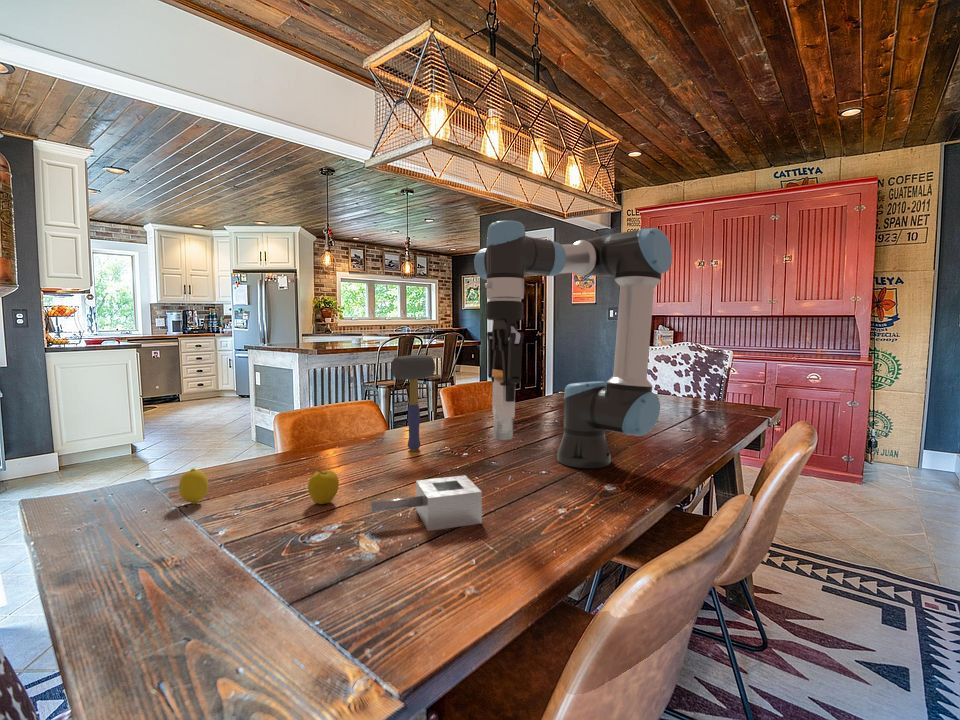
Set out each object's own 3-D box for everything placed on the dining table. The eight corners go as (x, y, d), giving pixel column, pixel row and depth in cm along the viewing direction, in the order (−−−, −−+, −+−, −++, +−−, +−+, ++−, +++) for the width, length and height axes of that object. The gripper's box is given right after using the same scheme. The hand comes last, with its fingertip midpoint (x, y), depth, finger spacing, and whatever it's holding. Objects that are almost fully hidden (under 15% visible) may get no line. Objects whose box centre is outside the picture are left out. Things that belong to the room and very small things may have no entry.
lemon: (173, 506, 105) (172, 470, 105) (196, 498, 111) (195, 463, 110) (192, 510, 104) (190, 473, 103) (214, 501, 109) (213, 466, 108)
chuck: (465, 504, 107) (465, 475, 107) (481, 523, 97) (481, 491, 97) (368, 516, 100) (368, 485, 100) (375, 538, 90) (374, 504, 90)
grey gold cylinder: (509, 434, 103) (510, 368, 102) (518, 439, 98) (519, 370, 97) (487, 435, 101) (488, 369, 100) (496, 441, 97) (497, 371, 96)
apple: (306, 509, 104) (305, 473, 103) (311, 499, 110) (310, 464, 110) (337, 508, 105) (336, 472, 104) (340, 497, 111) (340, 463, 111)
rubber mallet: (401, 456, 146) (400, 356, 144) (390, 450, 152) (389, 355, 150) (437, 449, 153) (436, 354, 151) (425, 444, 159) (424, 353, 157)
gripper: (473, 301, 105) (472, 409, 106) (504, 297, 89) (502, 424, 90) (505, 302, 107) (503, 407, 109) (541, 299, 91) (538, 422, 93)
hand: (503, 415), depth 99 cm, fingers closed on grey gold cylinder, 4 cm apart
